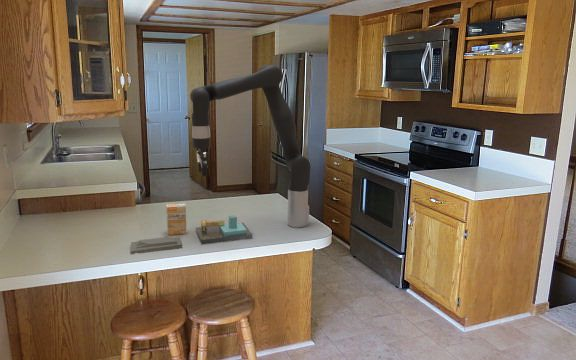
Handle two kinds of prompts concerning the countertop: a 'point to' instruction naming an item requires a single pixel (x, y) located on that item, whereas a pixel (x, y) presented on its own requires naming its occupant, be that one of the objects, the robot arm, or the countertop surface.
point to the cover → (233, 227)
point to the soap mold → (156, 245)
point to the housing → (220, 235)
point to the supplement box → (176, 219)
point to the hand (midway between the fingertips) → (202, 173)
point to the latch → (211, 224)
